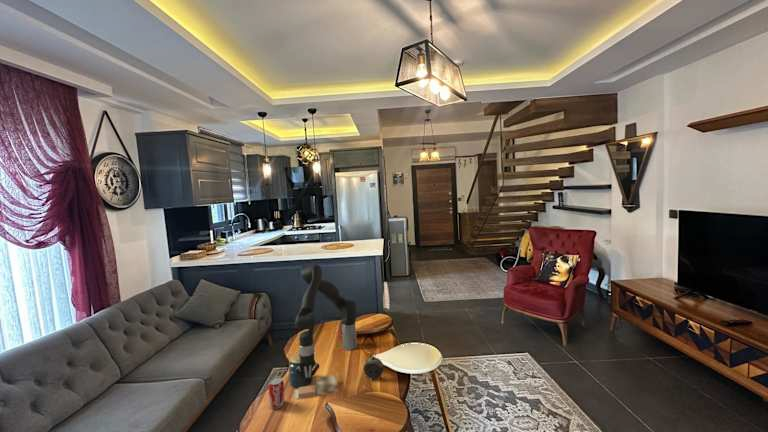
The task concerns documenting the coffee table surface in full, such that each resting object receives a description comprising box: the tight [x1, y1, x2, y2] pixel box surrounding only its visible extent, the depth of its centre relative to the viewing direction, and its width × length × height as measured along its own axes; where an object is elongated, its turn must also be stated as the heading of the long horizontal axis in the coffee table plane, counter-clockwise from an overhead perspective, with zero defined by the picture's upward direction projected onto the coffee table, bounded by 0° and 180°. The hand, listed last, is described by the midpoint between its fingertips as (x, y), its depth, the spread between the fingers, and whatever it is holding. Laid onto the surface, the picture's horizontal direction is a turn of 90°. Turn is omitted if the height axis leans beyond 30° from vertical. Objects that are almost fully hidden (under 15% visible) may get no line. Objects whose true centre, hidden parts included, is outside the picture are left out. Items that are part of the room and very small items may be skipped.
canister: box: [288, 351, 314, 389], centre depth 180 cm, size 13×13×18 cm
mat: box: [294, 388, 317, 400], centre depth 171 cm, size 11×8×1 cm
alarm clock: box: [363, 351, 384, 382], centre depth 180 cm, size 11×5×16 cm, turn 77°
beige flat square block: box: [314, 374, 339, 397], centre depth 174 cm, size 11×10×4 cm
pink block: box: [298, 384, 317, 399], centre depth 170 cm, size 9×6×2 cm, turn 104°
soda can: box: [268, 376, 285, 410], centre depth 161 cm, size 7×7×13 cm
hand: (308, 383), depth 171 cm, fingers closed
